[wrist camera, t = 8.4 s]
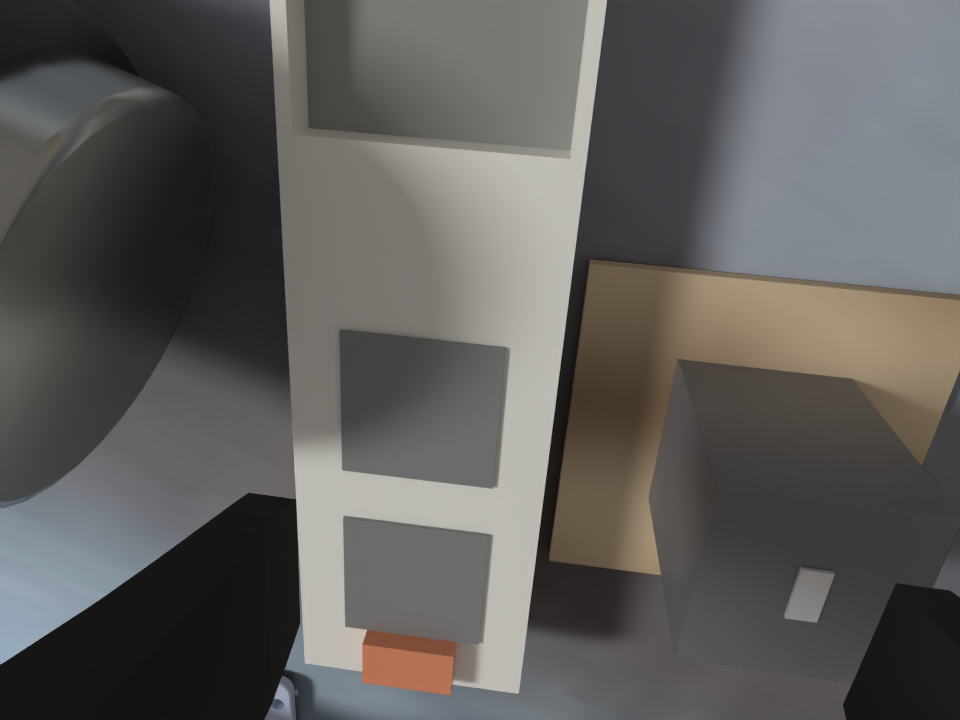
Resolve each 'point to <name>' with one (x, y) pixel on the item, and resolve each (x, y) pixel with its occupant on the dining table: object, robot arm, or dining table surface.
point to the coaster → (733, 341)
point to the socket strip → (427, 316)
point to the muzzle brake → (86, 235)
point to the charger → (786, 519)
